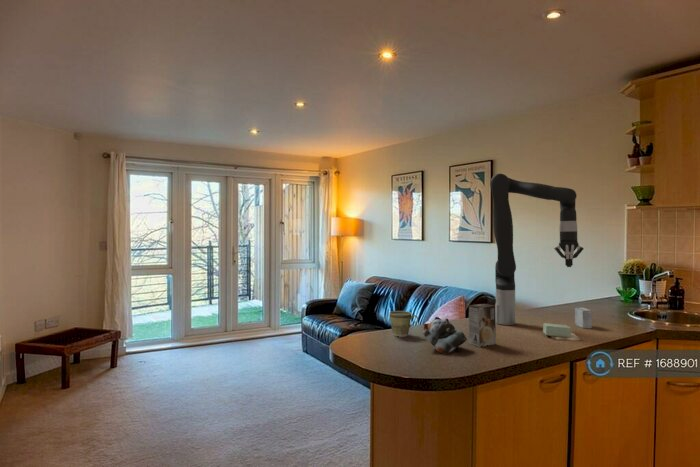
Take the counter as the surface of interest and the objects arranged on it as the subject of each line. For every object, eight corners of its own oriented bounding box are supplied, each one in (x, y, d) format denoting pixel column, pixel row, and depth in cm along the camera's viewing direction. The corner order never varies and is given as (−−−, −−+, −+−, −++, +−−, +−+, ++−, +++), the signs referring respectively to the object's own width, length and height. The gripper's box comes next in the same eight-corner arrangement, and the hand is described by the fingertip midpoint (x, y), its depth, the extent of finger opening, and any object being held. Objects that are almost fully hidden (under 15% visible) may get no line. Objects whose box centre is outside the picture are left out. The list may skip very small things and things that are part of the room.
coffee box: (484, 341, 184) (484, 303, 183) (496, 344, 178) (496, 305, 178) (468, 343, 179) (468, 304, 179) (479, 347, 174) (479, 307, 173)
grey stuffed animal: (444, 356, 161) (427, 321, 164) (429, 360, 172) (413, 327, 175) (473, 340, 168) (456, 307, 171) (457, 345, 178) (441, 314, 181)
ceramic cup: (386, 336, 191) (386, 314, 191) (392, 331, 200) (392, 310, 200) (415, 339, 186) (415, 316, 186) (420, 334, 196) (420, 312, 196)
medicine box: (592, 328, 207) (592, 310, 207) (582, 328, 207) (582, 310, 207) (583, 325, 215) (583, 307, 215) (574, 324, 215) (574, 307, 215)
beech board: (553, 339, 186) (553, 337, 186) (546, 333, 197) (546, 330, 197) (581, 340, 183) (581, 338, 183) (572, 334, 195) (572, 332, 195)
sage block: (546, 325, 189) (571, 328, 187) (543, 322, 195) (567, 325, 193) (545, 334, 189) (570, 337, 187) (542, 331, 195) (566, 334, 193)
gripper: (555, 230, 204) (556, 267, 204) (586, 230, 201) (586, 267, 201) (551, 230, 211) (552, 266, 211) (581, 230, 209) (581, 266, 209)
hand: (569, 266), depth 206 cm, fingers closed
